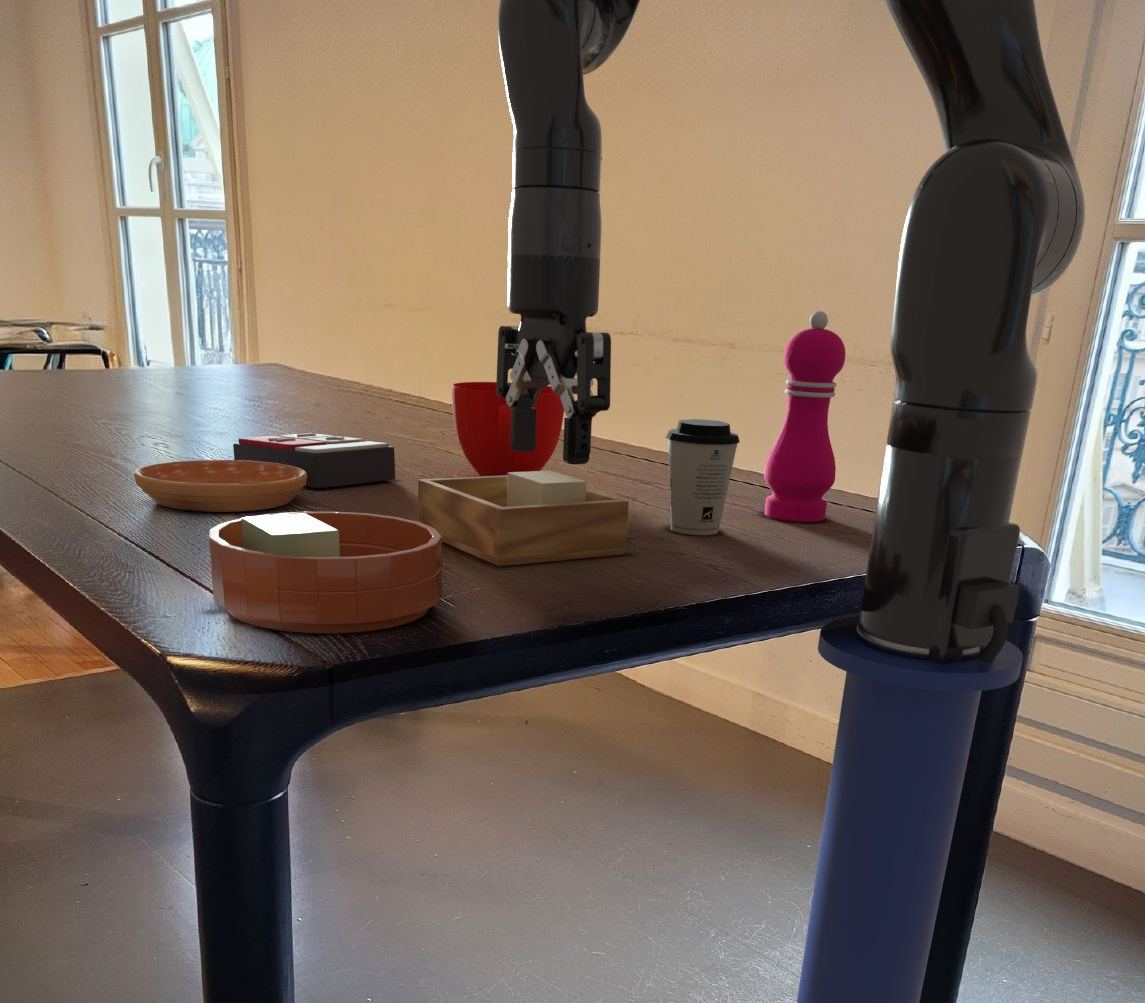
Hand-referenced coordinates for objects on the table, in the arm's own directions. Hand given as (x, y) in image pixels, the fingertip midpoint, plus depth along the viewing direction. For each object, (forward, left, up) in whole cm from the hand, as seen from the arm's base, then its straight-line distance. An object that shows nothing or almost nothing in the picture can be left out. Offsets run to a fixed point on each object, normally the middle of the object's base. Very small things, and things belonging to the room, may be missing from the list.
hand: (548, 457), depth 99 cm
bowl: (-13, +26, -7) cm, 29 cm away
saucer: (+26, +21, -8) cm, 34 cm away
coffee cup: (-1, -16, -8) cm, 18 cm away
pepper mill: (+1, -31, -8) cm, 32 cm away
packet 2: (0, 0, -7) cm, 7 cm away
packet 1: (-13, +28, -7) cm, 32 cm away
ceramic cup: (+30, -13, -8) cm, 34 cm away
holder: (0, +3, -7) cm, 8 cm away
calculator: (+38, +7, -8) cm, 40 cm away
